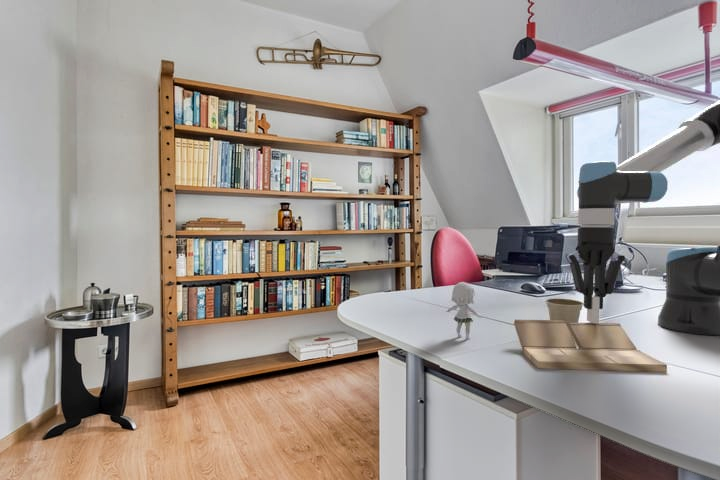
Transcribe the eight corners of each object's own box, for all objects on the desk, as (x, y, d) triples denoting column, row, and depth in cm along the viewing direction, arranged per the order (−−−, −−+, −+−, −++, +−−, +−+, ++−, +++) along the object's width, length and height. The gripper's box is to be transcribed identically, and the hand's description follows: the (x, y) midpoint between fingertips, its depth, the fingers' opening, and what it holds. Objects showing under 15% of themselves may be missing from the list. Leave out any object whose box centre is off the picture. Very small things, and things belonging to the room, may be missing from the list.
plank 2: (580, 351, 87) (582, 347, 86) (567, 326, 94) (568, 322, 93) (634, 353, 86) (636, 348, 85) (617, 327, 92) (619, 323, 92)
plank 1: (522, 349, 88) (523, 345, 87) (513, 323, 95) (514, 319, 94) (574, 351, 87) (576, 347, 86) (562, 324, 93) (564, 320, 92)
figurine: (486, 339, 98) (486, 282, 97) (475, 345, 93) (476, 285, 93) (450, 332, 105) (450, 279, 104) (439, 337, 100) (439, 281, 100)
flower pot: (589, 338, 99) (589, 305, 98) (550, 336, 101) (550, 304, 100) (576, 328, 108) (576, 298, 108) (541, 327, 110) (541, 297, 110)
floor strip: (638, 356, 85) (638, 349, 85) (666, 372, 76) (666, 364, 76) (523, 353, 87) (523, 347, 87) (538, 368, 78) (538, 360, 78)
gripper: (615, 226, 94) (612, 318, 95) (560, 226, 96) (558, 317, 97) (633, 226, 87) (630, 326, 88) (574, 226, 88) (572, 325, 89)
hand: (592, 321), depth 92 cm, fingers closed
